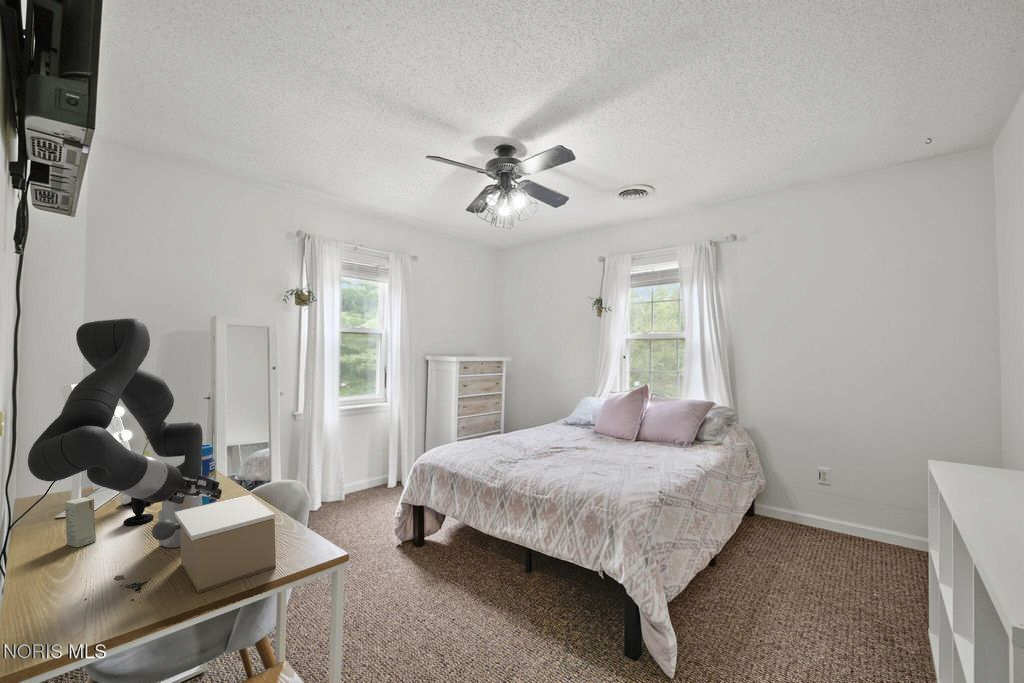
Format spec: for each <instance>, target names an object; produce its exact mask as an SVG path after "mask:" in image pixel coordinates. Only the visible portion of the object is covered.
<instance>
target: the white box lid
mask: <svg viewBox="0 0 1024 683" xmlns="http://www.w3.org/2000/svg"><path fill="white" fill-rule="evenodd" d="M175 517H176V519H177V520H178V521H179V523H177V524H175V523H174V522H173V521H171V520H162V521H159V520H158V522H157V523H155V524H154V525H153V528H152V529H151V536H152V537H153V538H154V539H155V540H156V541H159V540H166V539H168V538H170V537H171V536H172V535H173V534H174V533H175V530H178V529H180V528H181V526H182V527H183V529H184V530H185V531H186V533H187V534H188V536H189V537H190V539H191V540H195V539H199V538H203V537H206V536H210V535H214V534H217V533H221V532H225V531H229V530H232V529H236V528H240V527H243V526H247V525H251V524H254V523H258V522H262V521H266V520H269V519H273V518H274V519H275V518H276V514H275V513H274V512H273V511H272V510H271V509H270V508H269V507H267V506H266V505H264V504H263V503H262V502H260V501H259V500H258V499H256V498H254V497H253V496H252V495H251V494H248V495H244V496H243V495H242V496H238V497H235V498H230V499H226V500H221V501H216V502H215V503H212V504H207V505H203V506H199V507H194V508H190V509H186V510H181V511H177V512H175ZM180 524H181V526H180Z"/></svg>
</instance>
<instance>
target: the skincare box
mask: <svg viewBox="0 0 1024 683" xmlns="http://www.w3.org/2000/svg"><path fill="white" fill-rule="evenodd" d="M64 511H65V512H64V513H65V531H66V534H65V536H66V545H68V546H71V547H74V548H80V547H83V546H86V545H89V544H92V543H94V542H97V535H96V534H97V532H96V515H95V499H93V498H90V497H77V498H75V499H71V500H66V501H64Z"/></svg>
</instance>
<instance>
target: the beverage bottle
mask: <svg viewBox="0 0 1024 683" xmlns="http://www.w3.org/2000/svg"><path fill="white" fill-rule="evenodd" d="M213 454H214V446H213V445H212V444H202V470H201V476H202V477H206V478H208V479H211V480H214V481H217V469H216V465H217V463H216V461H215V459H214V458H213V457H212V456H213ZM202 492H203V491H202ZM217 500H218V499H213V498H210V497H207V496H202V506H203V505H207V504H212V503H216V502H218V501H217Z"/></svg>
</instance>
